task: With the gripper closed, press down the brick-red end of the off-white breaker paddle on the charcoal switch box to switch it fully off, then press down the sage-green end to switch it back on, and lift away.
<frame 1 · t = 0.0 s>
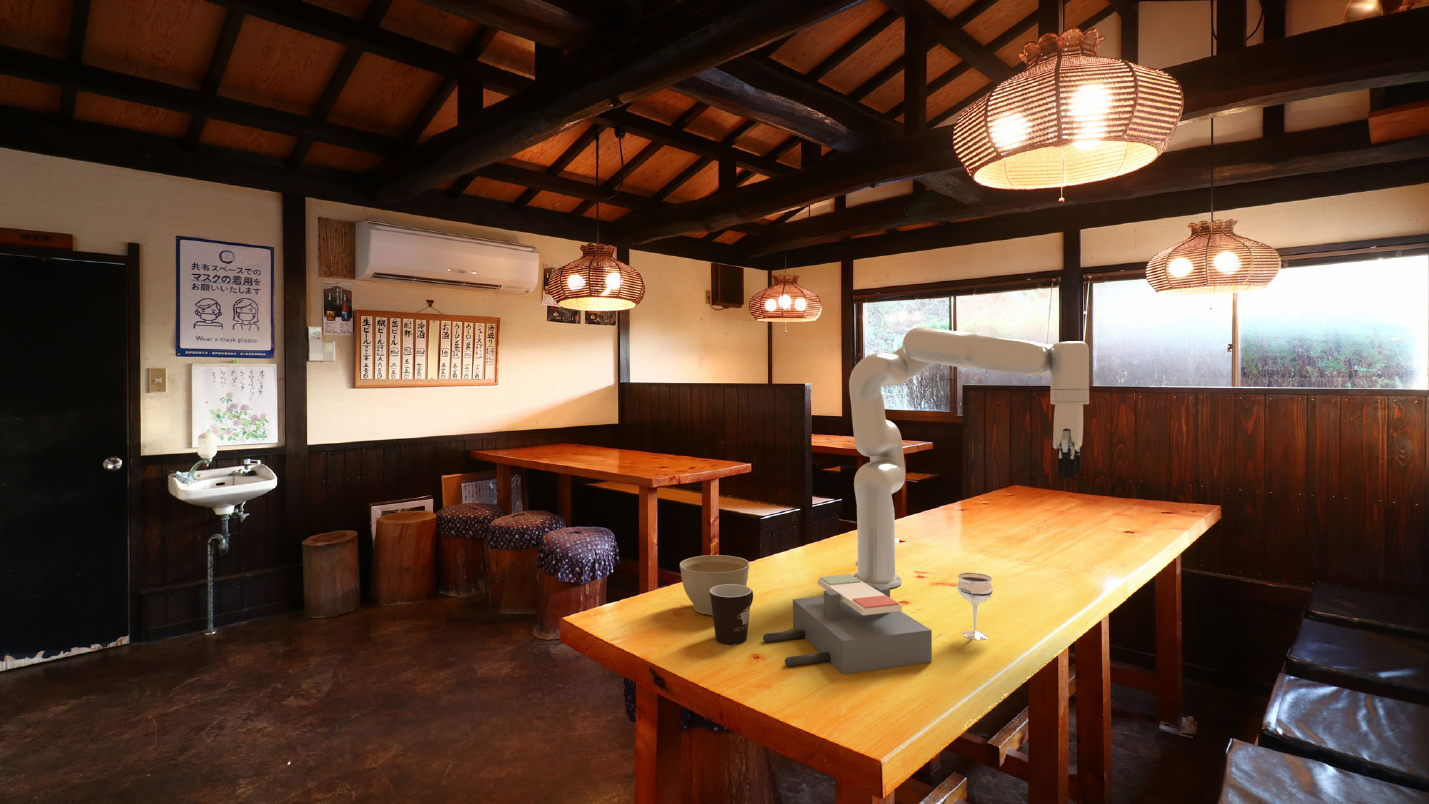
hand: (1069, 474, 145), 31 cm above the table, tool pointing down, fingers open, 9 cm apart
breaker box: (857, 643, 131), on the table
planter bowl: (715, 610, 152), on the table
wineglass: (975, 636, 134), on the table
coffee mug: (737, 638, 135), on the table
breaker paddle: (857, 593, 130), point 10 cm above the table, hinge at 0.0°
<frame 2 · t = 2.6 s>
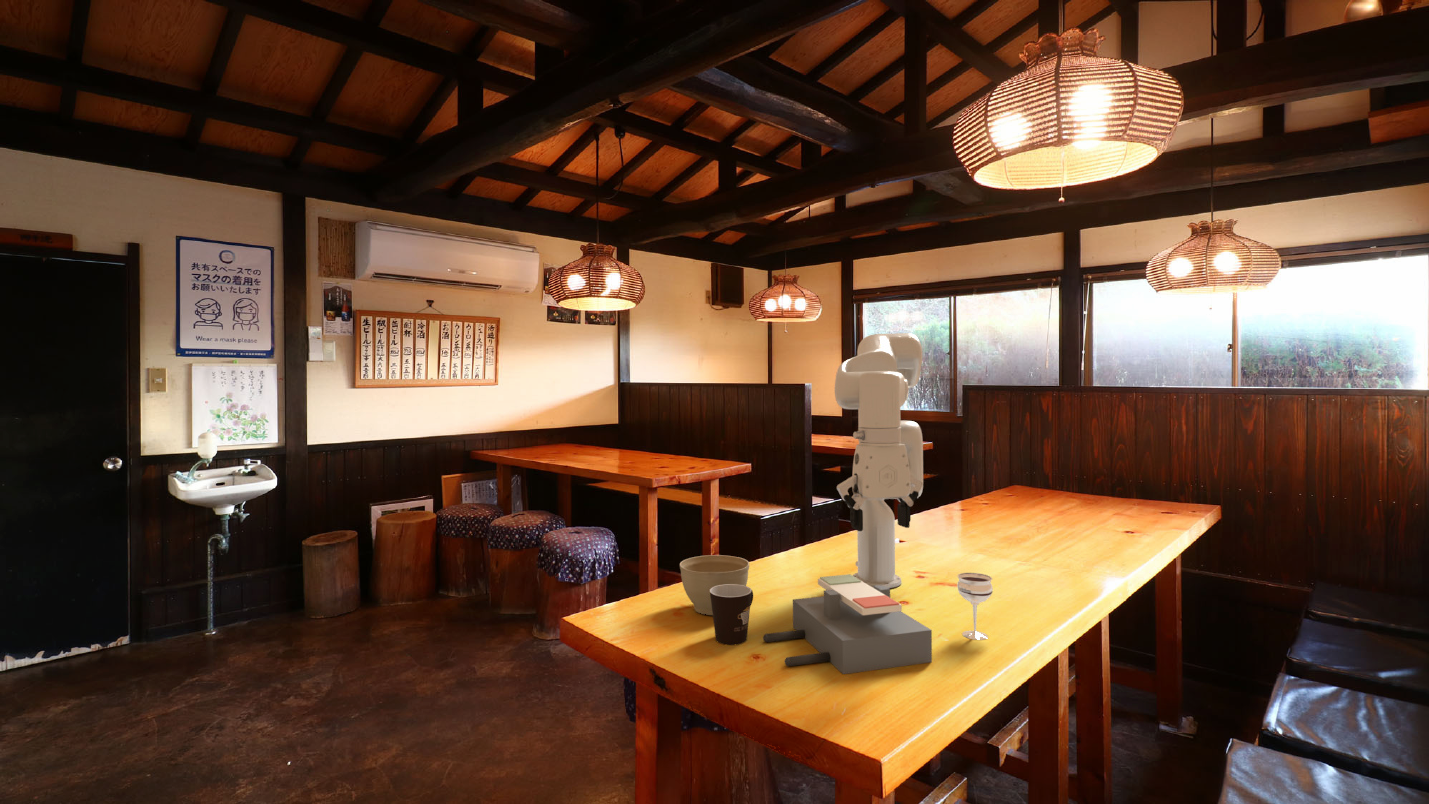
hand: (880, 528, 123), 25 cm above the table, tool pointing down, fingers open, 9 cm apart
nothing on the table moved.
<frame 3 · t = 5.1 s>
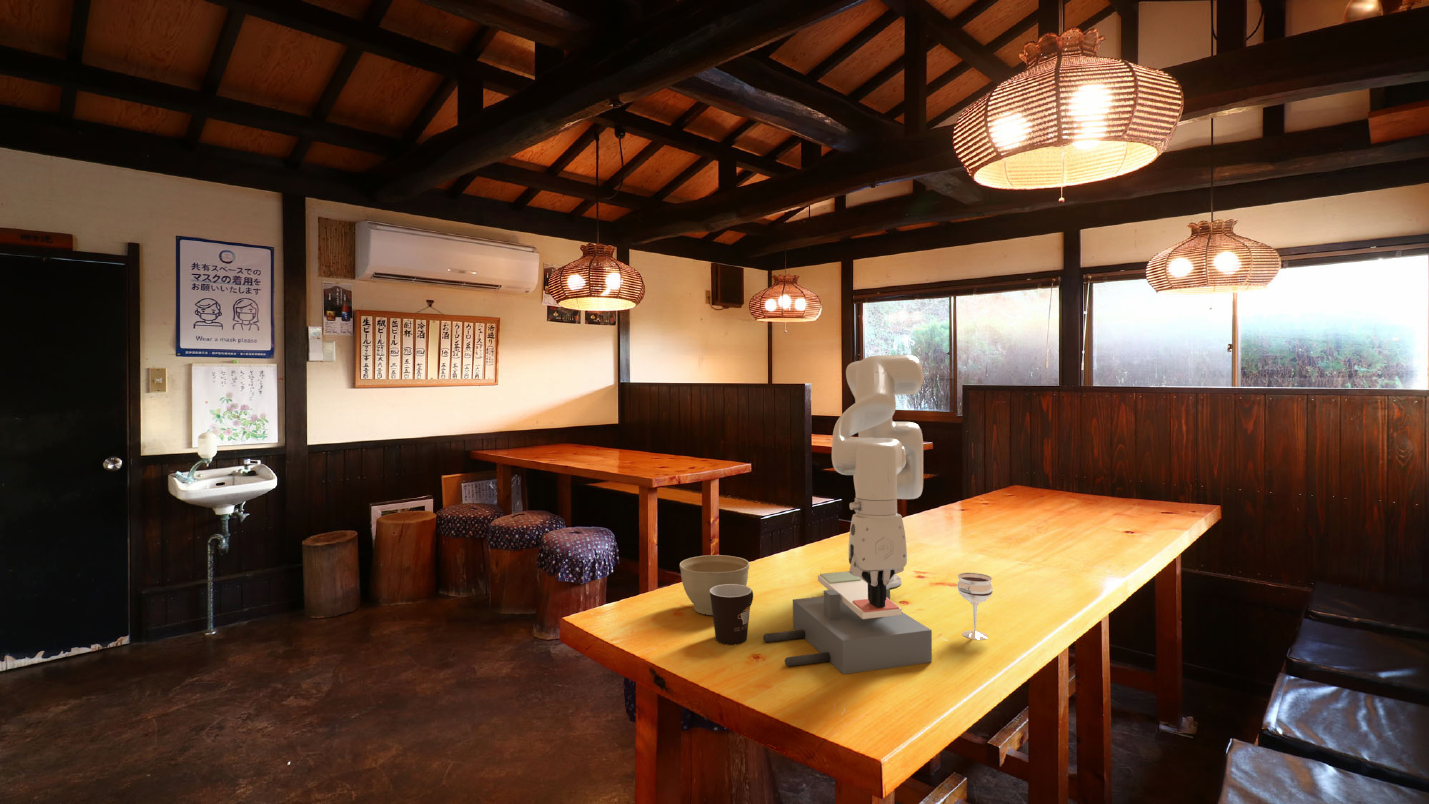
hand: (877, 604, 122), 10 cm above the table, tool pointing down, fingers closed
breaker paddle: (857, 593, 130), point 10 cm above the table, hinge at 4.2°, touching gripper
everything else where it was.
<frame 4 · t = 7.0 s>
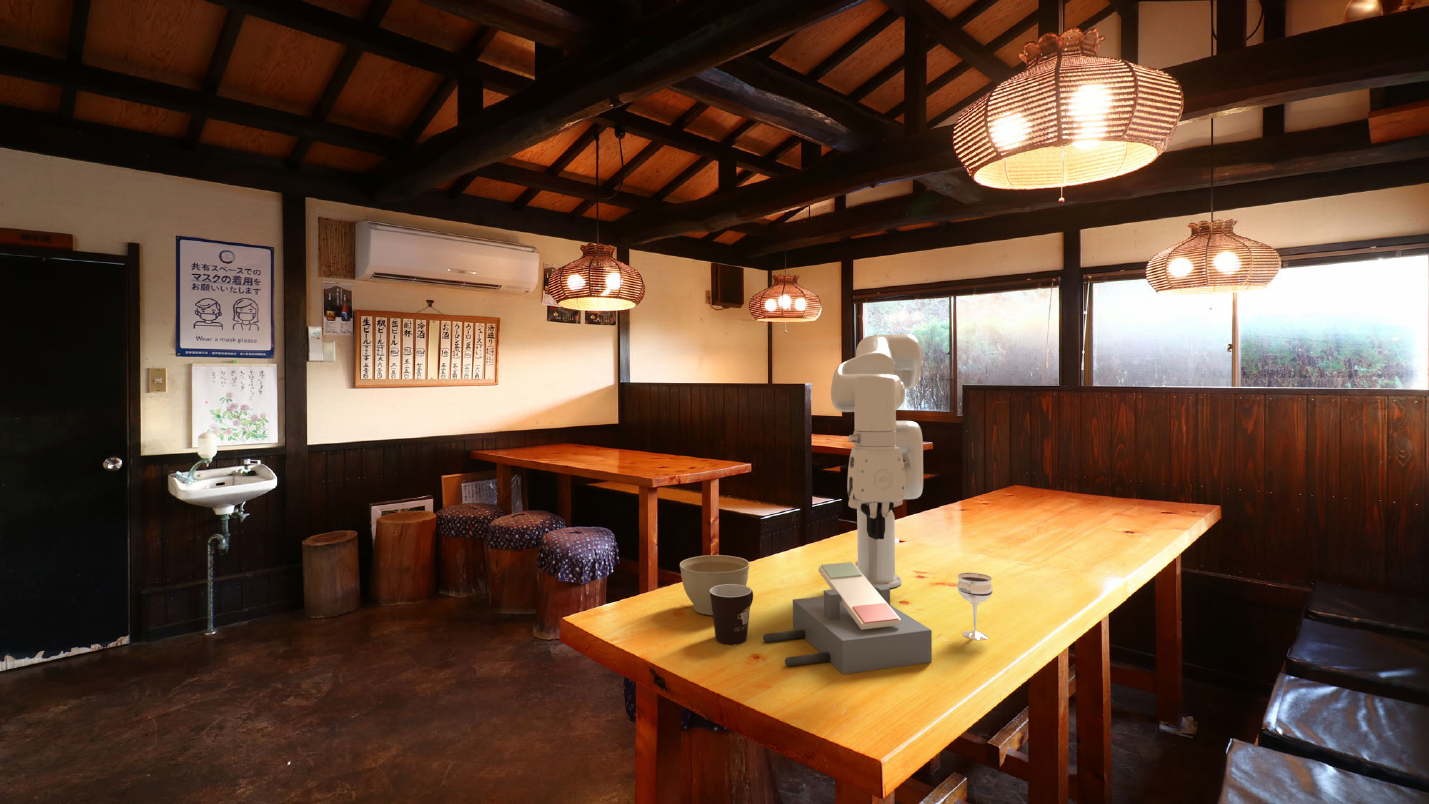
hand: (876, 537, 123), 23 cm above the table, tool pointing down, fingers closed
breaker paddle: (857, 593, 130), point 10 cm above the table, hinge at 16.6°
everything else where it was.
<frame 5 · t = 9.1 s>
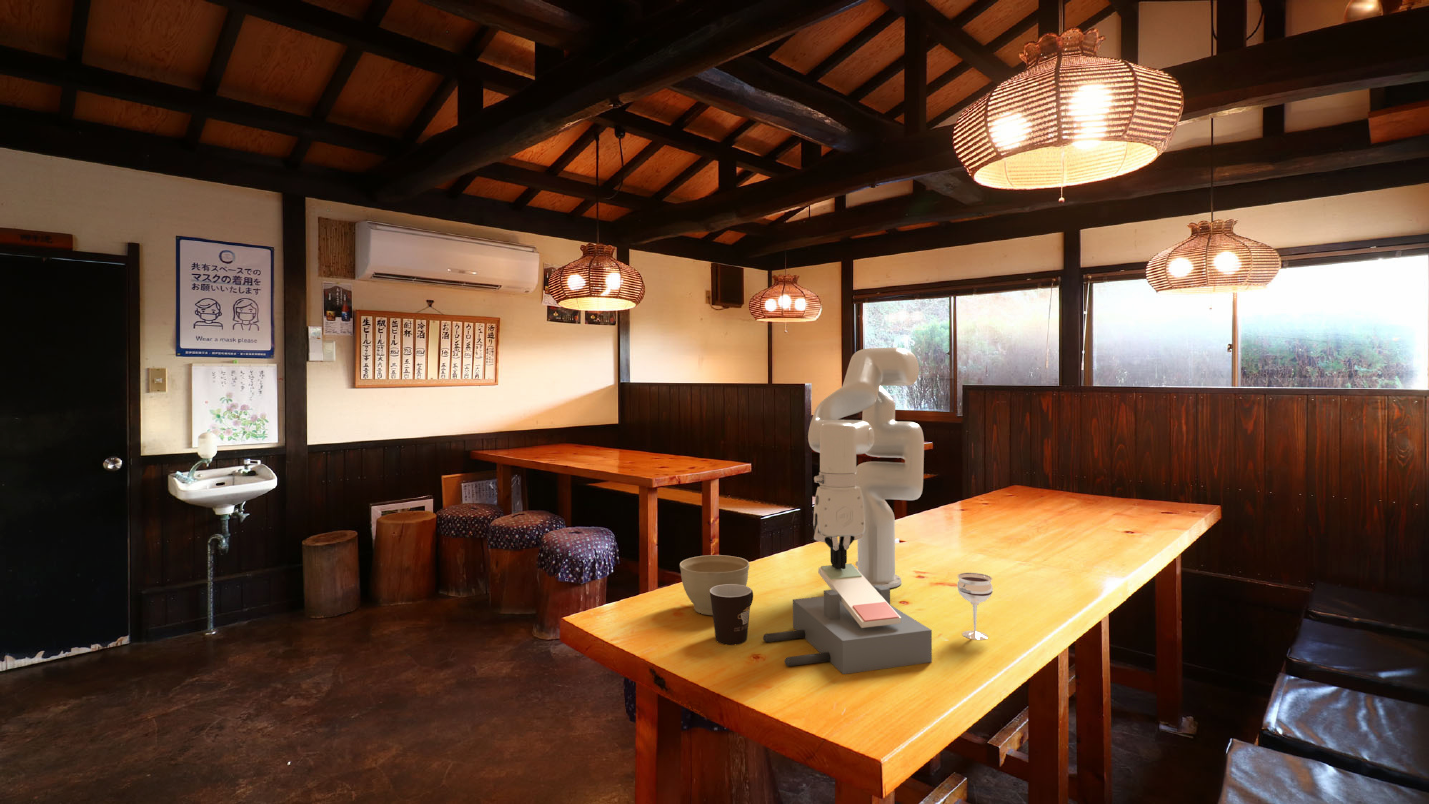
hand: (838, 567, 138), 13 cm above the table, tool pointing down, fingers closed
breaker paddle: (857, 593, 130), point 10 cm above the table, hinge at 14.4°, touching gripper
everything else where it was.
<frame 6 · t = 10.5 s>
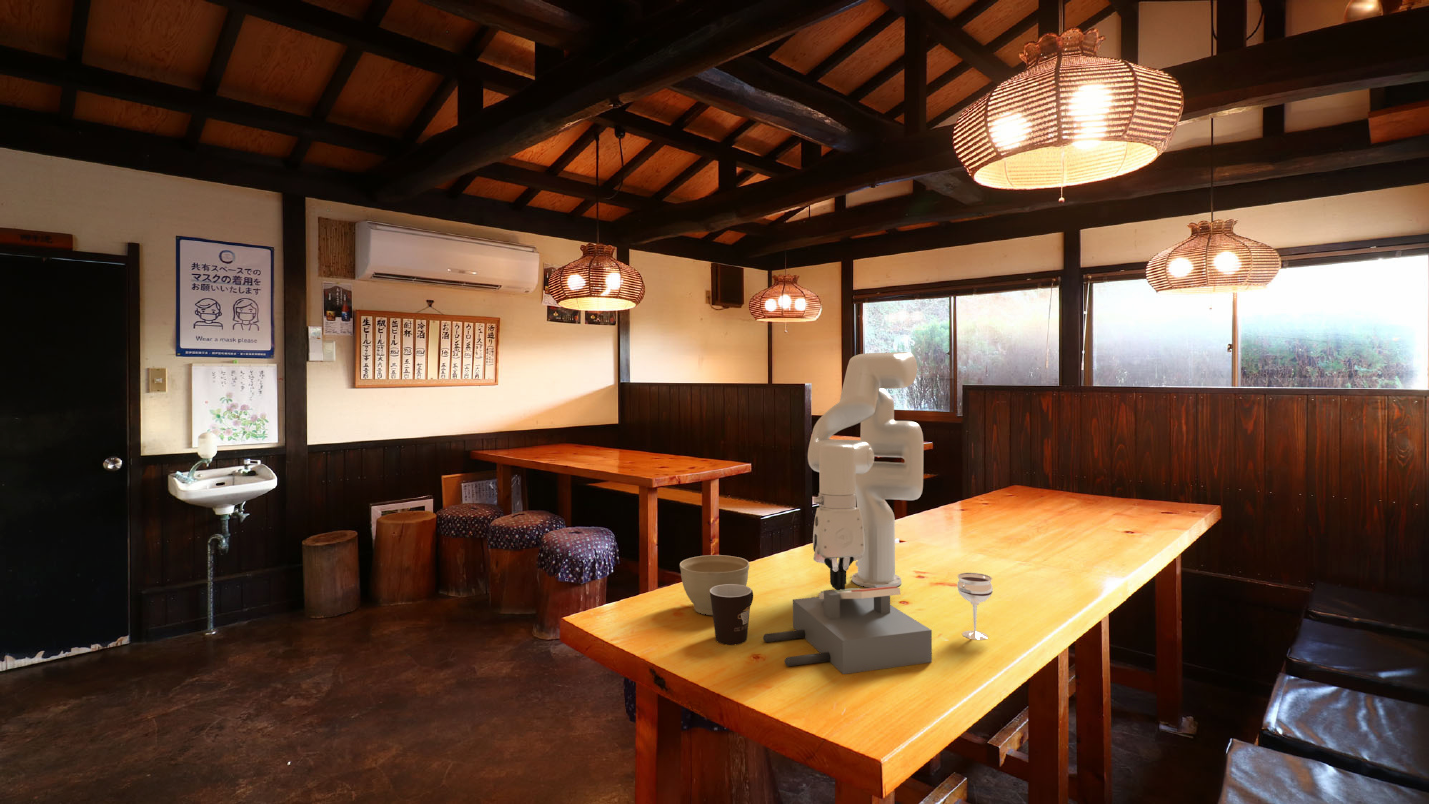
hand: (838, 588, 138), 9 cm above the table, tool pointing down, fingers closed
breaker paddle: (856, 593, 130), point 10 cm above the table, hinge at -17.5°, touching gripper
everything else where it was.
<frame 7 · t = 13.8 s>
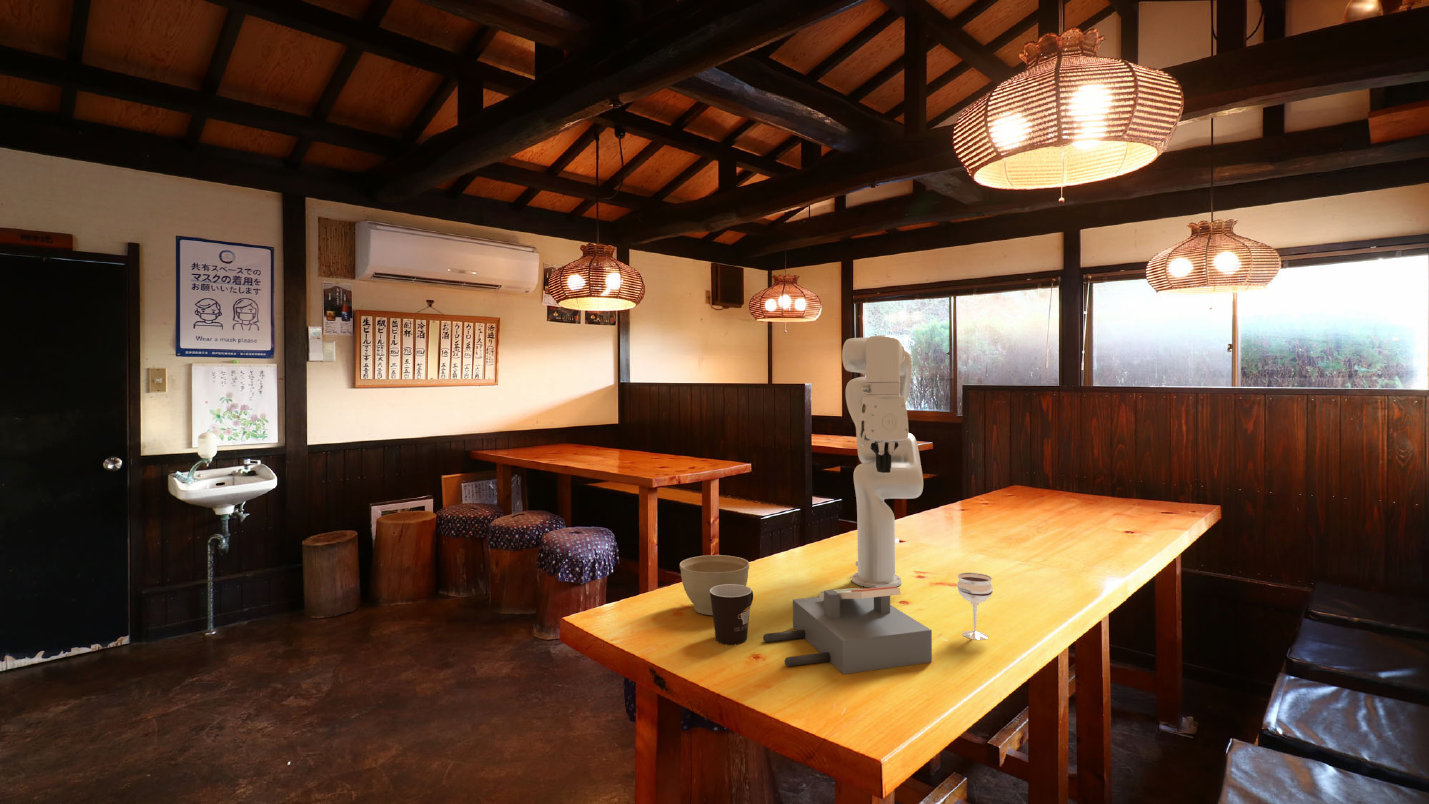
hand: (883, 471, 147), 32 cm above the table, tool pointing down, fingers closed
breaker paddle: (856, 593, 130), point 10 cm above the table, hinge at -17.5°
everything else where it was.
at the end: breaker paddle at -18° (first picture: +0°) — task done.
